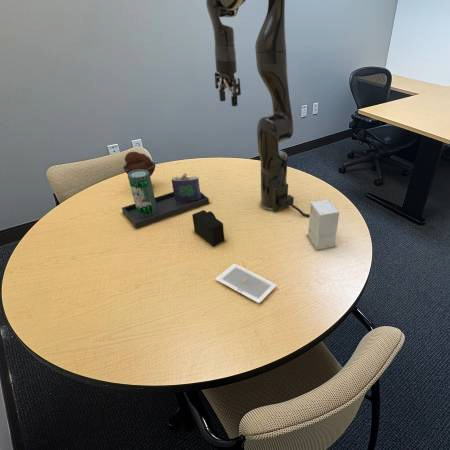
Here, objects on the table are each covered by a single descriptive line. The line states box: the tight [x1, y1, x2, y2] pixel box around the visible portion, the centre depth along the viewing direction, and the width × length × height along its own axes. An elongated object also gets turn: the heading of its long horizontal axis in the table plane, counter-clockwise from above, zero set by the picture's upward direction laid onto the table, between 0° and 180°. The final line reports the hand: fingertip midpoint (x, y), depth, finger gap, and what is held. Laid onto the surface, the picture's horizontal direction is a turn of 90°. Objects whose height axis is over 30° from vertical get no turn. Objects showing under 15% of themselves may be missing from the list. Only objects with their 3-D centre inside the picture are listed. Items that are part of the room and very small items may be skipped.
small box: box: [307, 199, 340, 251], centre depth 105 cm, size 8×6×13 cm
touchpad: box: [214, 262, 278, 304], centre depth 90 cm, size 8×15×2 cm, turn 58°
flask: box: [171, 173, 201, 203], centre depth 120 cm, size 9×3×11 cm, turn 105°
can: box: [127, 169, 158, 218], centre depth 111 cm, size 6×6×15 cm
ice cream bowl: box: [122, 151, 156, 177], centre depth 126 cm, size 11×11×15 cm
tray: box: [121, 191, 210, 230], centre depth 119 cm, size 12×26×2 cm, turn 133°
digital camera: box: [191, 209, 225, 247], centre depth 105 cm, size 10×5×7 cm, turn 47°
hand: (228, 103), depth 133 cm, fingers open, 8 cm apart
